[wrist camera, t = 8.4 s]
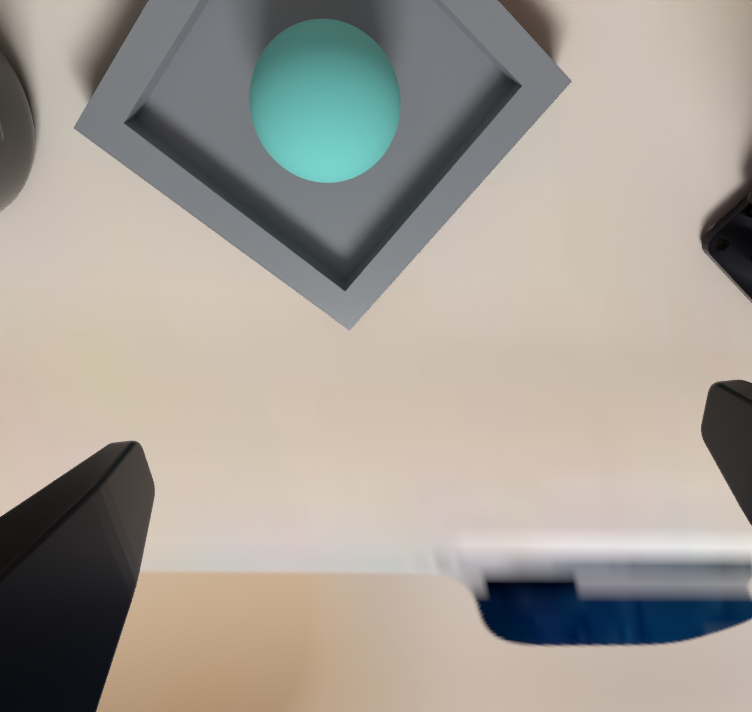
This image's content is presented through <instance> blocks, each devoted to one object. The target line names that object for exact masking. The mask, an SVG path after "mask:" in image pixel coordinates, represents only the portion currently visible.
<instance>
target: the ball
mask: <svg viewBox="0 0 752 712" xmlns="http://www.w3.org/2000/svg"><path fill="white" fill-rule="evenodd" d="M249 104H250V113H251V117H252V122H253V125H254V128H255V131H256V133H257V135H258V137H259V139H260V141H261V143H262V145H263V146H264V148H265V149H266V151H267V152H268V153H269V154H270V156H271V157H272V158H273V159H274V160H275V161H276V162H277V163H278V164H279V165H280V166H282V167H283V168H284V169H286V170H287V171H289V172H290V173H292V174H294V175H296V176H298V177H301V178H303V179H306V180H310V181H314V182H321V183H335V182H341V181H345V180H349V179H352V178H354V177H356V176H359V175H361V174H362V173H364V172H365V171H367V170H369V169H370V168H371V167H372V166H373V165H375V164H376V163H377V162H378V161H379V160H380V159H381V157H382V156H383V155H384V154H385V152H386V151H387V149H388V148H389V146H390V144H391V142H392V140H393V138H394V136H395V133H396V130H397V127H398V123H399V118H400V110H401V98H400V89H399V84H398V80H397V77H396V74H395V71H394V69H393V66H392V64H391V62H390V61H389V59H388V57H387V55H386V54H385V53H384V51H383V50H382V48H381V47H380V46H379V45H378V44H377V43H376V42H375V41H374V40H373V39H372V38H371V37H370V36H369V35H367V34H366V33H365V32H363V31H362V30H360V29H358V28H357V27H355V26H352V25H350V24H348V23H345V22H342V21H338V20H332V19H312V20H306V21H303V22H300V23H297V24H295V25H293V26H291V27H289V28H287V29H285V30H284V31H282V32H281V33H280V34H278V35H277V36H276V37H275V38H274V39H273V40H272V41H271V42H270V43H269V44H268V46H267V47H266V48H265V49H264V51H263V52H262V54H261V56H260V57H259V59H258V61H257V64H256V66H255V68H254V71H253V75H252V79H251V84H250V91H249Z"/></svg>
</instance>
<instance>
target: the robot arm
mask: <svg viewBox="0 0 752 712" xmlns="http://www.w3.org/2000/svg"><path fill="white" fill-rule="evenodd" d="M722 237H723V242H722V244H721V245H720V246H719V247H717V248H715V244H716V242H717V241H718V240H719V239H720V238H722ZM702 249H703V251H704V252H705V253H706V254H707V255H708V256H709V258H710V259H711V260H712V261H713V262H714V263H715V264H716V265H717V266H718V267H719V268H720V269H721V270H722V271H723V273H724V274H725V275H726V276H727V277H728V278H729V279H730V280H731V281H732V282H733V283H734V284H735V285H736V286H737V288H738V289H739V290H740V291H741V292H742V293H743V294H744V295H745V296H746V297H747V298H748V299H749V300H750V301H751V303H752V190H751V191H750V193H749V195H747V196H746V197H745V198H744V199H743V200H742V201H741V202H740V203H739V204H738V205H737V206H736V207H734V208H733V209H732V210H731V211H730V212H729V213H728V214H727V215H726V216H725V217H724V218H723V219H721V220H720V221H719V222H718V223H717V224H716V225H715V226H714V227H713V228H712V229H711V230H710V231H708V232H707V234H706V235H705V236H704V238H703V240H702ZM701 433H702V437H703V440H704V442H705V444H706V446H707V448H708V450H709V451H710V453H711V455H712V457H713V459H714V460H715V462H716V464H717V466H718V468H719V469H720V471H721V473H722V475H723V477H724V478H725V480H726V482H727V484H728V486H729V487H730V489H731V491H732V493H733V495H734V496H735V498H736V500H737V502H738V504H739V506H740V507H741V509H742V511H743V512H744V514H745V516H746V517H747V519H748V521H749V522H750V524H751V525H752V383H750V382H747V381H744V380H730V381H720V382H715V383H714V384H713V385H711V387H710V389H709V391H708V396H707V400H706V405H705V410H704V415H703V419H702V424H701ZM154 496H155V487H154V482H153V478H152V475H151V472H150V469H149V466H148V463H147V460H146V457H145V454H144V451H143V448H142V446H141V445H140V443H138V442H136V441H125V442H115V443H110V444H108V445H107V446H105V447H104V448H102V449H101V450H99V451H98V452H96V453H95V454H93V455H92V456H90V457H89V458H87V459H86V460H84V461H83V462H82V463H80V464H79V465H77V466H76V467H74V468H73V469H71V470H70V471H68V472H67V473H65V474H64V475H62V476H61V477H59V478H58V479H56V480H55V481H53V482H52V483H50V484H49V485H47V486H46V487H44V488H43V489H41V490H40V491H38V492H37V493H35V494H34V495H32V496H31V497H29V498H28V499H26V500H25V501H23V502H22V503H20V504H19V505H17V506H16V507H14V508H13V509H11V510H10V511H8V512H7V513H5V514H4V515H2V516H1V517H0V712H96V710H97V707H98V704H99V700H100V698H101V695H102V691H103V688H104V685H105V682H106V679H107V676H108V673H109V670H110V667H111V663H112V660H113V657H114V654H115V651H116V648H117V645H118V642H119V639H120V636H121V633H122V629H123V626H124V623H125V620H126V617H127V614H128V611H129V608H130V605H131V602H132V598H133V595H134V591H135V588H136V585H137V581H138V576H139V572H140V567H141V562H142V557H143V552H144V547H145V542H146V537H147V532H148V527H149V522H150V517H151V512H152V507H153V501H154Z"/></svg>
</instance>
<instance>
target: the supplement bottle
mask: <svg viewBox="0 0 752 712" xmlns="http://www.w3.org/2000/svg"><path fill="white" fill-rule="evenodd" d="M34 151H35V133H34V124H33V119H32V114H31V110H30V106H29V103H28V100H27V97H26V95H25V92H24V90H23V87H22V85H21V83H20V81H19V79H18V77H17V75H16V73H15V72H14V70H13V68H12V66H11V65H10V63H9V62H8V60H7V59H6V57H5V56H4V54H3V53H2V52H1V51H0V212H1V211H2V210H4V209H5V208H6V207H7V206H8V205H10V204H11V203H12V202H13V200H14V199H15V198H16V197H17V196H18V194H19V193H20V192H21V190H22V189H23V187H24V185H25V183H26V181H27V179H28V176H29V174H30V171H31V168H32V163H33V159H34Z"/></svg>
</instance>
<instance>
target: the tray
mask: <svg viewBox="0 0 752 712" xmlns="http://www.w3.org/2000/svg"><path fill="white" fill-rule="evenodd" d="M312 19H332V20H338V21H342V22H345V23H348V24H350V25H352V26H355V27H357V28H358V29H360V30H362V31H363V32H365V33H366V34H367V35H369V36H370V37H371V38H372V39H373V40H374V41H375V42H376V43H377V44H378V45H379V46H380V47H381V48H382V50H383V51H384V53H385V54H386V55H387V57H388V59H389V61H390V62H391V64H392V66H393V69H394V71H395V74H396V77H397V80H398V84H399V89H400V98H401V110H400V118H399V123H398V127H397V130H396V133H395V136H394V138H393V140H392V142H391V144H390V146H389V148H388V149H387V151H386V152H385V154H384V155H383V156H382V157H381V159H380V160H379V161H378V162H377V163H376V164H375V165H373V166H372V167H371V168H370V169H369V170H367V171H365V172H364V173H362V174H361V175H359V176H356V177H354V178H352V179H349V180H345V181H341V182H335V183H321V182H314V181H310V180H306V179H303V178H301V177H298V176H296V175H294V174H292V173H290V172H289V171H287V170H286V169H284V168H283V167H282V166H280V165H279V164H278V163H277V162H276V161H275V160H274V159H273V158H272V157H271V156H270V154H269V153H268V152H267V151H266V149H265V148H264V146H263V145H262V143H261V141H260V139H259V137H258V135H257V133H256V131H255V128H254V125H253V122H252V117H251V113H250V104H249V91H250V84H251V79H252V75H253V71H254V68H255V66H256V64H257V61H258V59H259V57H260V56H261V54H262V52H263V51H264V49H265V48H266V47H267V46H268V44H269V43H270V42H271V41H272V40H273V39H274V38H275V37H276V36H277V35H278V34H280V33H281V32H282V31H284V30H285V29H287V28H289V27H291V26H293V25H295V24H297V23H300V22H303V21H306V20H312ZM571 82H572V81H571V80H570V79H569V78H568V76H567V75H566V74H565V73H564V72H563V71H562V70H561V69H560V68H559V67H558V66H557V64H556V63H555V62H554V61H553V60H552V59H551V58H550V57H549V56H548V55H547V53H546V52H545V51H544V50H543V49H542V48H541V47H540V46H539V45H538V44H537V42H536V41H535V40H534V39H533V38H532V37H531V36H530V35H529V34H528V33H527V32H526V30H525V29H524V28H523V27H522V26H521V25H520V24H519V23H518V22H517V21H516V19H515V18H514V17H513V16H512V15H511V14H510V13H509V12H508V11H507V10H506V8H505V7H504V6H503V5H502V4H501V3H500V2H499V1H498V0H148V2H147V4H146V5H145V7H144V9H143V10H142V12H141V14H140V16H139V17H138V19H137V21H136V22H135V24H134V26H133V27H132V29H131V31H130V33H129V34H128V36H127V38H126V39H125V41H124V43H123V45H122V46H121V48H120V50H119V51H118V53H117V55H116V56H115V58H114V60H113V62H112V63H111V65H110V67H109V68H108V70H107V72H106V73H105V75H104V77H103V79H102V80H101V82H100V84H99V85H98V87H97V89H96V91H95V92H94V94H93V96H92V97H91V99H90V101H89V102H88V104H87V106H86V108H85V109H84V111H83V113H82V114H81V116H80V118H79V120H78V121H77V123H76V125H75V126H74V129H76V130H77V131H78V132H80V133H81V134H82V135H84V136H85V137H87V138H88V139H89V140H91V141H92V142H93V143H95V144H96V145H97V146H99V147H100V148H102V149H103V150H104V151H106V152H107V153H108V154H110V155H111V156H112V157H114V158H115V159H117V160H118V161H119V162H121V163H122V164H123V165H125V166H126V167H127V168H129V169H130V170H131V171H133V172H134V173H136V174H137V175H138V176H140V177H141V178H142V179H144V180H145V181H146V182H148V183H149V184H151V185H152V186H153V187H155V188H156V189H157V190H159V191H160V192H161V193H163V194H164V195H166V196H167V197H168V198H170V199H171V200H172V201H174V202H175V203H176V204H178V205H179V206H181V207H182V208H183V209H185V210H186V211H187V212H189V213H190V214H191V215H193V216H194V217H196V218H197V219H198V220H200V221H201V222H202V223H204V224H205V225H206V226H208V227H209V228H211V229H212V230H213V231H215V232H216V233H217V234H219V235H220V236H221V237H223V238H224V239H226V240H227V241H228V242H230V243H231V244H232V245H234V246H235V247H236V248H238V249H239V250H240V251H242V252H243V253H245V254H246V255H247V256H249V257H250V258H251V259H253V260H254V261H255V262H257V263H258V264H260V265H261V266H262V267H264V268H265V269H266V270H268V271H269V272H270V273H272V274H273V275H275V276H276V277H277V278H279V279H280V280H281V281H283V282H284V283H285V284H287V285H288V286H290V287H291V288H292V289H294V290H295V291H296V292H298V293H299V294H300V295H302V296H303V297H305V298H306V299H307V300H309V301H310V302H311V303H313V304H314V305H315V306H317V307H318V308H320V309H321V310H322V311H324V312H325V313H326V314H328V315H329V316H330V317H332V318H333V319H335V320H336V321H337V322H339V323H340V324H341V325H343V326H344V327H345V328H347V329H348V330H349V331H350V330H351V328H352V327H353V326H354V325H355V324H356V323H357V322H358V321H359V319H360V318H361V317H362V316H363V315H364V314H365V313H366V312H367V310H368V309H369V308H370V307H371V306H372V305H373V304H374V303H375V301H376V300H377V299H378V298H379V297H380V296H381V295H382V294H383V292H384V291H385V290H386V289H387V288H388V287H389V286H390V285H391V284H392V282H393V281H394V280H395V279H396V278H397V277H398V276H399V275H400V273H401V272H402V271H403V270H404V269H405V268H406V267H407V266H408V264H409V263H410V262H411V261H412V260H413V259H414V258H415V257H416V255H417V254H418V253H419V252H420V251H421V250H422V249H423V248H424V246H425V245H426V244H427V243H428V242H429V241H430V240H431V239H432V238H433V236H434V235H435V234H436V233H437V232H438V231H439V230H440V229H441V227H442V226H443V225H444V224H445V223H446V222H447V221H448V220H449V218H450V217H451V216H452V215H453V214H454V213H455V212H456V211H457V209H458V208H459V207H460V206H461V205H462V204H463V203H464V202H465V200H466V199H467V198H468V197H469V196H470V195H471V194H472V193H473V192H474V190H475V189H476V188H477V187H478V186H479V185H480V184H481V183H482V181H483V180H484V179H485V178H486V177H487V176H488V175H489V174H490V172H491V171H492V170H493V169H494V168H495V167H496V166H497V165H498V163H499V162H500V161H501V160H502V159H503V158H504V157H505V156H506V154H507V153H508V152H509V151H510V150H511V149H512V148H513V147H514V145H515V144H516V143H517V142H518V141H519V140H520V139H521V138H522V137H523V135H524V134H525V133H526V132H527V131H528V130H529V129H530V128H531V126H532V125H533V124H534V123H535V122H536V121H537V120H538V119H539V117H540V116H541V115H542V114H543V113H544V112H545V111H546V110H547V108H548V107H549V106H550V105H551V104H552V103H553V102H554V101H555V99H556V98H557V97H558V96H559V95H560V94H561V93H562V92H563V91H564V89H565V88H566V87H567V86H568V85H569V84H570V83H571Z"/></svg>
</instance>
